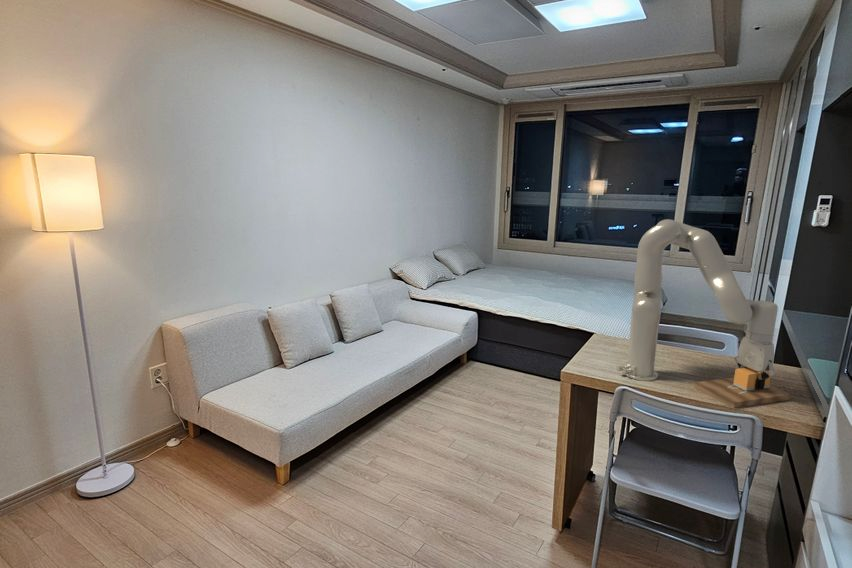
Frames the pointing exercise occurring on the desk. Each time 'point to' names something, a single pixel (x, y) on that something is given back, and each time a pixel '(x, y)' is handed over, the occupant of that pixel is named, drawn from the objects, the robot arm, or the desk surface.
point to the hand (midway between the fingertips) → (751, 385)
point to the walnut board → (740, 393)
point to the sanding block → (748, 379)
